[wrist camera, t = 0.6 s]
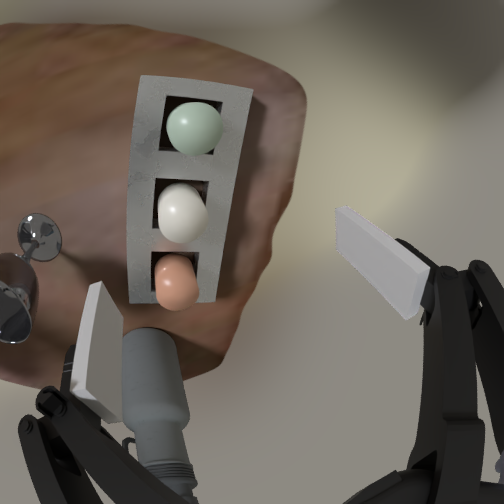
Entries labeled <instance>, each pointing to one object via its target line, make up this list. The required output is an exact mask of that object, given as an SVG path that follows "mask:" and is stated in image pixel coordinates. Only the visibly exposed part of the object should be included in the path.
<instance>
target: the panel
mask: <svg viewBox="0 0 504 504" xmlns="http://www.w3.org/2000/svg"><path fill="white" fill-rule="evenodd" d="M252 94H253V89H249V88H244V87H239V86H233V85H228V84H222V83H215V82H209V81H201V80H194V79H185V78H175V77H163V76H148V75H141V77H140V83H139V89H138V95H137V101H136V108H135V115H134V122H133V130H132V139H131V149H130V161H129V175H128V194H127V270H128V289H129V303H159V302H158V300H157V297H156V285H155V279H151V251H160V252H195V254H194V263H193V269H194V273H195V277H196V280H197V284H198V288H199V297H198V299H197V301H196V302H195V303H200V302H215V299H216V293H217V286H218V280H219V274H220V267H221V261H222V255H223V249H224V243H225V237H226V231H227V225H228V219H229V214H230V208H231V202H232V197H233V191H234V186H235V180H236V175H237V169H238V164H239V159H240V153H241V148H242V143H243V138H244V133H245V128H246V123H247V118H248V113H249V108H250V103H251V98H252ZM166 96H172V97H182V98H192V99H200V100H208V101H215V102H217V106H216V110H217V112H218V113H219V114H220V116H221V118H222V121H223V133H222V137H221V139H220V141H219V143H218V144H217V145H216V146H215V147H214V148H213V149H212V150H211V151H209V152H207V153H205V154H202V155H197V156H191V155H186V154H183V153H181V152H180V151H178V150H177V149H176V148H173V147H159V141H160V133H161V126H162V119H163V113H164V106H165V100H166ZM155 178H168V179H186V180H201V181H204V183H203V190H202V197H201V199H202V201H203V203H204V205H205V207H206V209H207V212H208V218H209V219H208V225H207V228H206V230H205V231H204V233H203V234H202V235H201V236H200V237H199V238H198V239H196V240H194V241H192V242H189V243H175V242H172V241H170V240H169V239H167V238H166V237H165V236H164V235H163V234H162V232H161V230H160V228H159V221H158V219H155V218H153V202H154V189H155Z"/></svg>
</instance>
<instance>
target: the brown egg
mask: <svg viewBox="0 0 504 504" xmlns="http://www.w3.org/2000/svg"><path fill="white" fill-rule="evenodd" d="M155 285H156V297H157V300H158V302H159V303H160V305H161V306H163V307H164V308H166V309H168V310H172V311H181V310H185V309H187V308H189V307H191V306H192V305H193V304H195V302H196V301H197V299H198V297H199V288H198V284H197V280H196V277H195V273H194V269H193V266H192V263H191V261H190V260H189V259H188V258H187V257H186V256H184V255H182V254H178V253H172V254H167V255H165V256H163V257H162V258H160V259H159V260H158V262H157V263H156V265H155Z"/></svg>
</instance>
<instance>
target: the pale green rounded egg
mask: <svg viewBox="0 0 504 504" xmlns="http://www.w3.org/2000/svg"><path fill="white" fill-rule="evenodd" d="M166 129H167V133H168V136H169V139H170V141H171V143H172V145H173V146H174V147H175V148H176V149H177V150H178V151H180V152H181V153H183V154H186V155H191V156H197V155H202V154H205V153H207V152H209V151H211V150H212V149H213V148H214V147H215V146H216V145H217V144H218V143H219V141H220V139H221V137H222V133H223V121H222V118H221V116H220V114H219V113H218V112H217V110H216V109H214V108H213V107H212V106H210V105H208V104H205V103H201V102H189V103H184V104H181V105H179V106H177V107H176V108H175V109H174V110H173V111H172V112H171V113H170V115H169V117H168V119H167V123H166Z"/></svg>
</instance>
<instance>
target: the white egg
mask: <svg viewBox="0 0 504 504" xmlns="http://www.w3.org/2000/svg"><path fill="white" fill-rule="evenodd" d="M208 219H209V218H208V212H207V209H206V207H205V205H204V203H203V201H202V199H201V197H200V195H199V193H198V191H197V190H196V189H195V188H194V187H193V186H191V185H190V184H187V183H182V182H178V183H173V184H171V185H169V186H167V187H166V188H165V189H164V190H163V191H162V192H161V194H160V196H159V198H158V221H159V228H160V230H161V232H162V234H163V235H164V236H165V237H166V238H167V239H169V240H170V241H172V242H175V243H189V242H192V241H194V240H196V239H198V238H199V237H200V236H201V235H202V234H203V233H204V231H205V230H206V228H207V225H208Z"/></svg>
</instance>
